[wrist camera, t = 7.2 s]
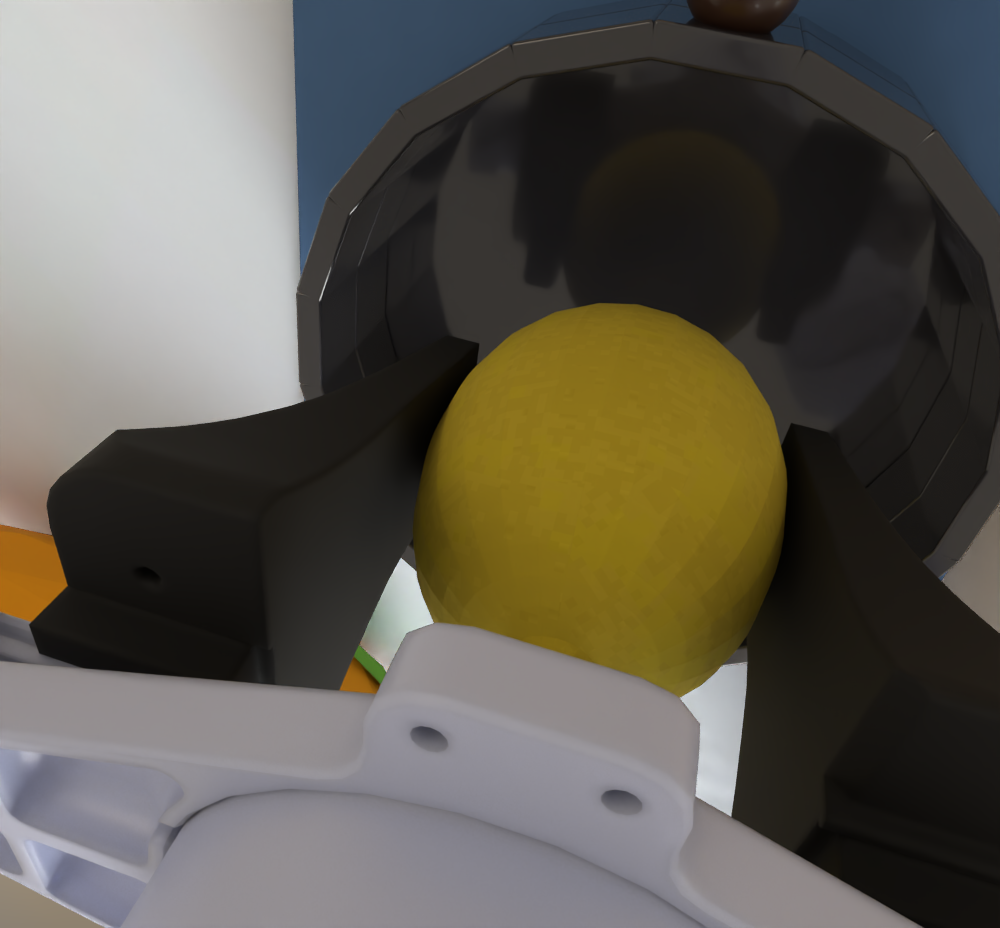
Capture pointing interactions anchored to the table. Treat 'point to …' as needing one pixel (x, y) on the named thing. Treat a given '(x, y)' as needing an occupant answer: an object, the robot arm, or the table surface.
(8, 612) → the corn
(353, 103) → the napkin
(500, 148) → the pan
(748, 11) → the pan handle
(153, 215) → the table surface
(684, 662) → the lemon
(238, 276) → the table surface
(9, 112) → the table surface
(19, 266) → the table surface
